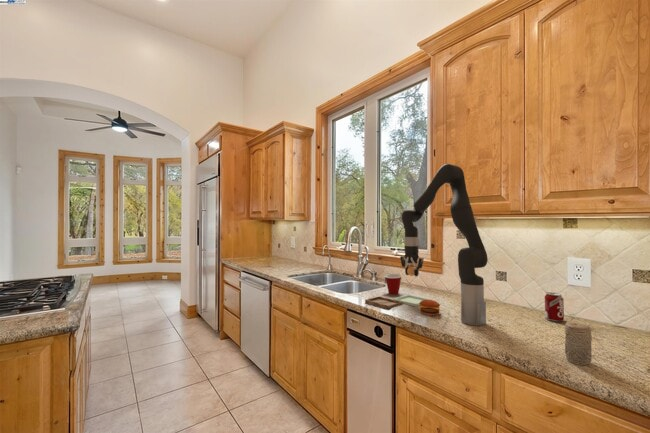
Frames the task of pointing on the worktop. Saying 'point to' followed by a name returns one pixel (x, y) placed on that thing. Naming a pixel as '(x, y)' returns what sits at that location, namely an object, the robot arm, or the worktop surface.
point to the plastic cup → (393, 283)
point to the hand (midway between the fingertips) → (411, 275)
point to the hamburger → (429, 307)
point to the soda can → (554, 307)
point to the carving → (578, 343)
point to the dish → (411, 300)
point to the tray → (383, 302)
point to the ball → (411, 271)
